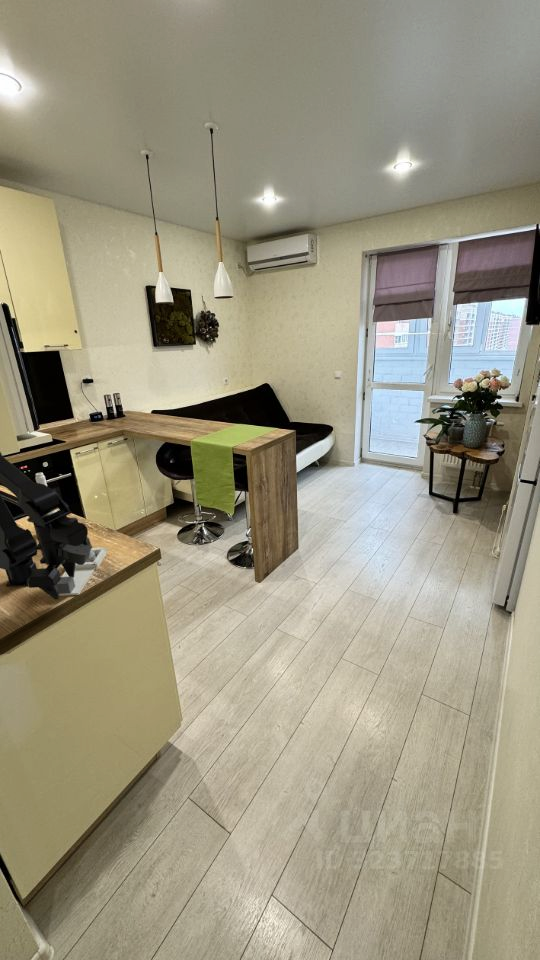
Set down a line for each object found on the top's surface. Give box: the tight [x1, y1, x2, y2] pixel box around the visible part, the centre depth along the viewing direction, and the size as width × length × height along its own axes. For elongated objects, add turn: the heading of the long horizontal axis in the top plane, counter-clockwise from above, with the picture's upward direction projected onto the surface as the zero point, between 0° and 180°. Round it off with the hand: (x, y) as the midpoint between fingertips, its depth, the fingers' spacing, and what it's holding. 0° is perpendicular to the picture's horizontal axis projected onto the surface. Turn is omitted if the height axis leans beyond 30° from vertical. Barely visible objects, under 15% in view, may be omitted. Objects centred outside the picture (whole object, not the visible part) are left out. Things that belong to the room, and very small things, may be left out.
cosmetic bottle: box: [34, 472, 58, 515], centre depth 131 cm, size 6×6×22 cm
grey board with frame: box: [47, 547, 108, 597], centre depth 110 cm, size 9×20×4 cm, turn 3°
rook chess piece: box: [86, 535, 97, 562], centre depth 115 cm, size 4×4×8 cm
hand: (64, 587), depth 102 cm, fingers open, 9 cm apart
